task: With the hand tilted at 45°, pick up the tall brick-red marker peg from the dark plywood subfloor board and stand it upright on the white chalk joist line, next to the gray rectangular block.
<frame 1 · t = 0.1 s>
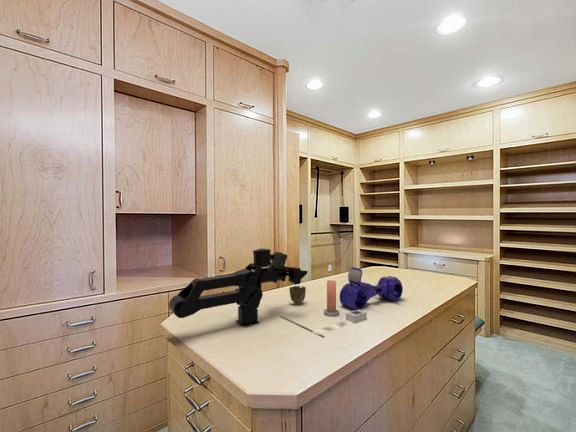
hand: (300, 270, 123), 17 cm above the counter, tool horizontal, fingers open, 9 cm apart
gray rectangular block: (356, 319, 108), point 1 cm above the counter, touching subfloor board
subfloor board: (326, 320, 110), on the counter
marker peg: (331, 314, 114), point 1 cm above the counter, touching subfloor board
cup: (297, 305, 128), on the counter
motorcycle: (372, 304, 130), on the counter
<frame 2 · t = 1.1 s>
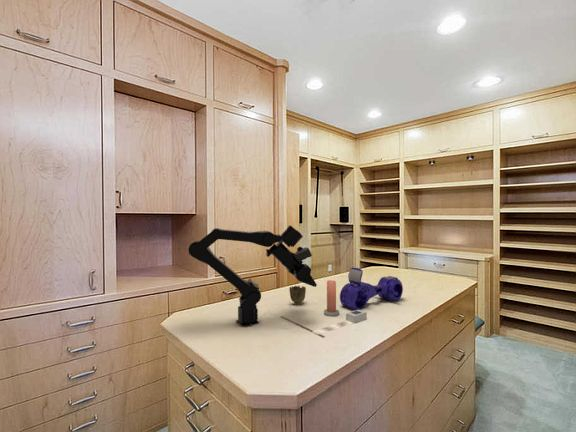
hand: (312, 283, 113), 13 cm above the counter, tool tilted 45°, fingers open, 9 cm apart
nothing on the counter moved.
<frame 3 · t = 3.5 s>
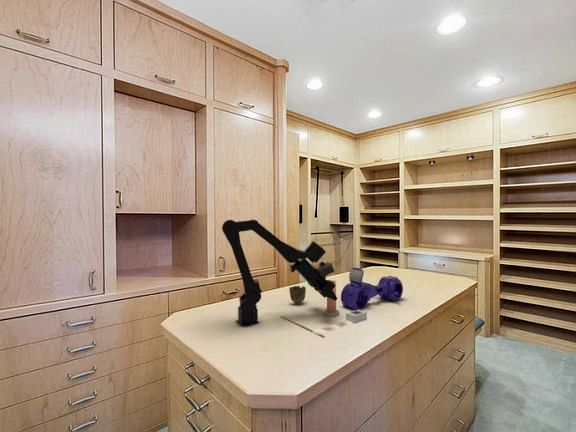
hand: (334, 298, 115), 7 cm above the counter, tool tilted 45°, fingers closed on marker peg, 4 cm apart
marker peg: (331, 314, 114), point 1 cm above the counter, touching gripper, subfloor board
everything else where it was.
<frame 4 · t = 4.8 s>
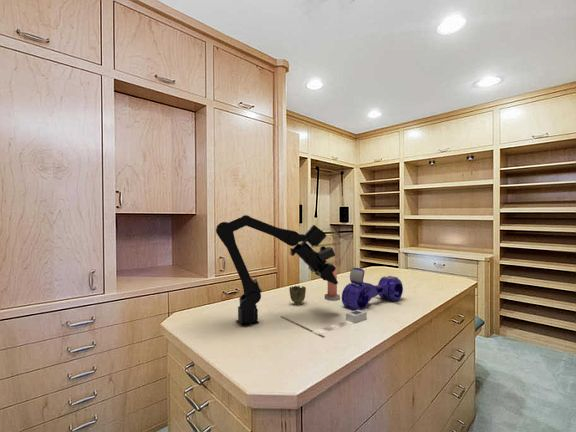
hand: (335, 282, 114), 13 cm above the counter, tool tilted 45°, fingers closed on marker peg, 4 cm apart
marker peg: (332, 298, 114), point 7 cm above the counter, touching gripper
everything else where it was.
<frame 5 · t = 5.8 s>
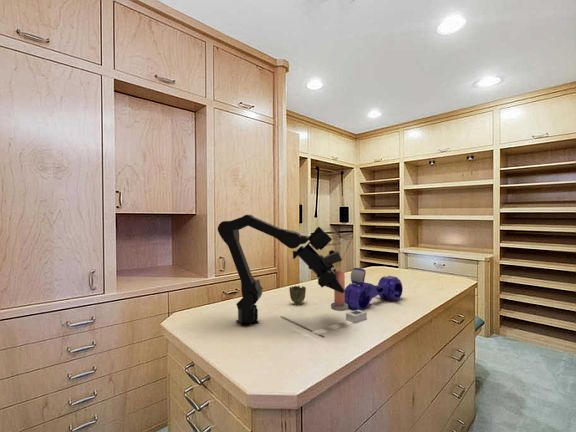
hand: (343, 290, 103), 13 cm above the counter, tool tilted 45°, fingers closed on marker peg, 4 cm apart
marker peg: (339, 308, 103), point 7 cm above the counter, touching gripper
everything else where it was.
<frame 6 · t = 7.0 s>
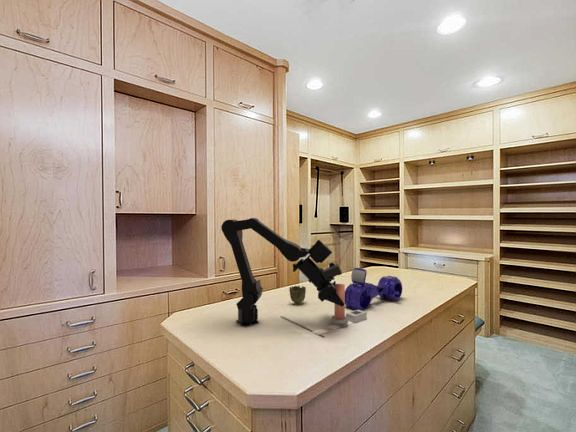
hand: (343, 303, 103), 8 cm above the counter, tool tilted 45°, fingers closed on marker peg, 4 cm apart
marker peg: (339, 321, 103), point 2 cm above the counter, touching gripper
when the fingers open (8 cm above the counter, at t = 7.0 s): marker peg drops 1 cm, resting on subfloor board.
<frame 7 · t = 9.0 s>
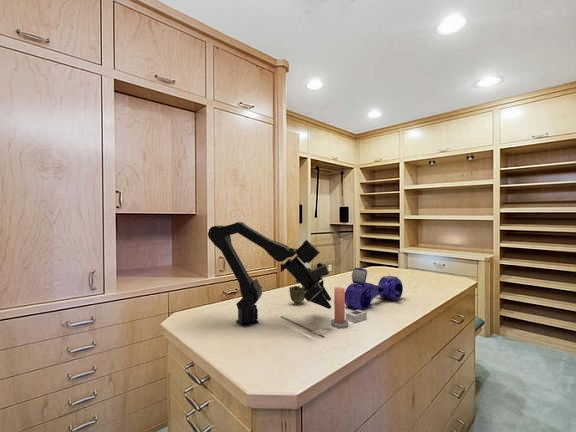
hand: (330, 303, 103), 8 cm above the counter, tool tilted 45°, fingers open, 9 cm apart
marker peg: (339, 324, 103), point 1 cm above the counter, touching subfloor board
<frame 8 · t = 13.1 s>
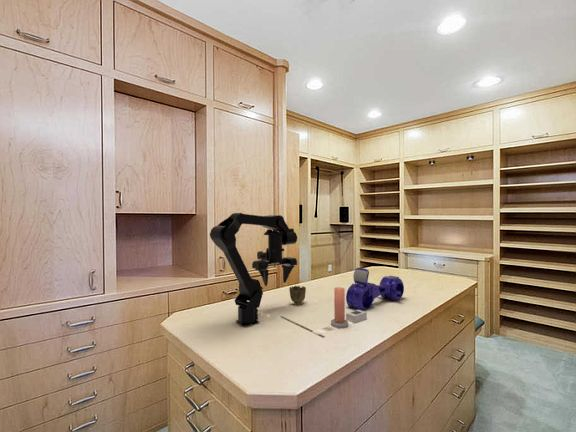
hand: (275, 284, 118), 12 cm above the counter, tool pointing down, fingers open, 9 cm apart
at the end: marker peg inside the target area (0.0 cm from its centre), point 0.9 cm above the counter; marker peg tilted 0°; the gripper is holding nothing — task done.
